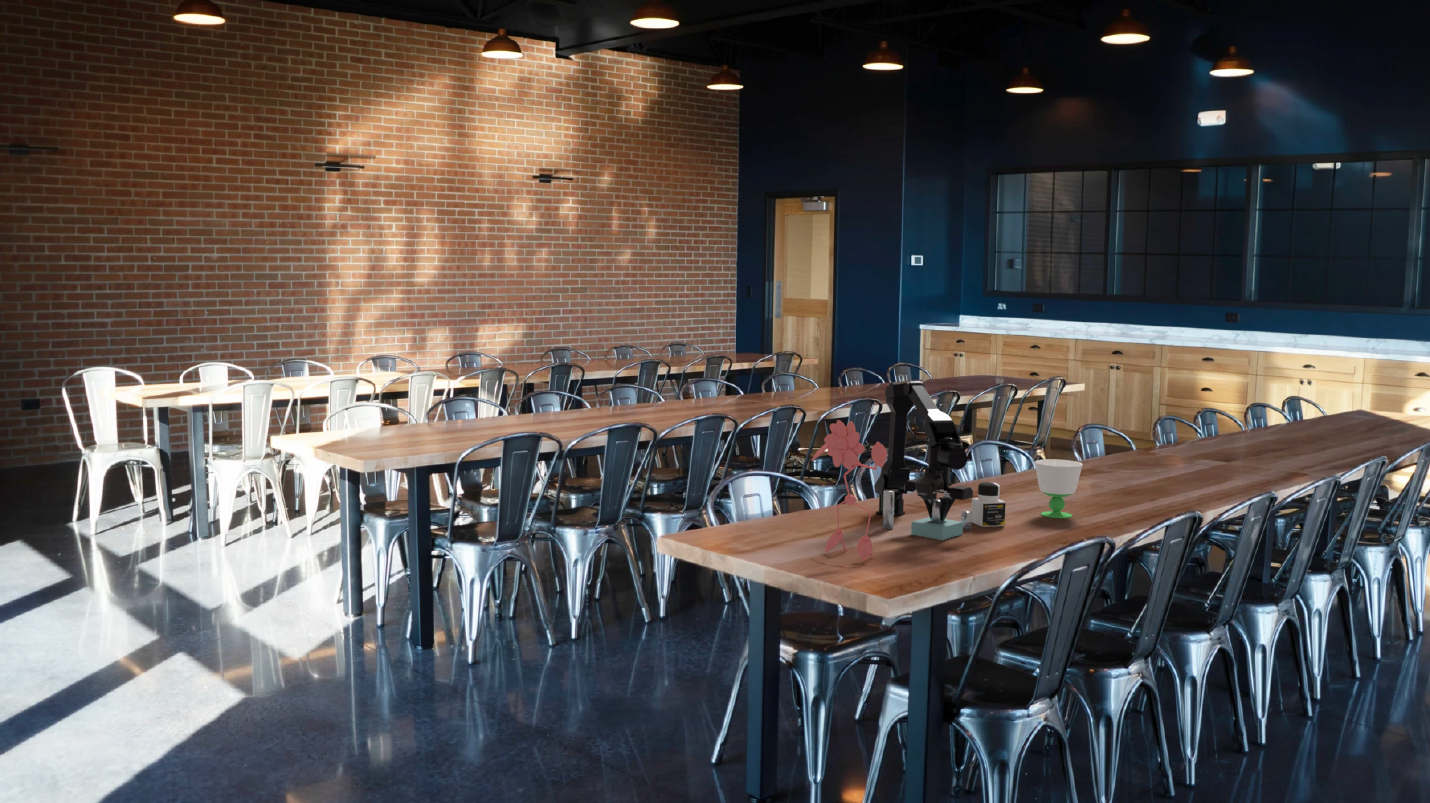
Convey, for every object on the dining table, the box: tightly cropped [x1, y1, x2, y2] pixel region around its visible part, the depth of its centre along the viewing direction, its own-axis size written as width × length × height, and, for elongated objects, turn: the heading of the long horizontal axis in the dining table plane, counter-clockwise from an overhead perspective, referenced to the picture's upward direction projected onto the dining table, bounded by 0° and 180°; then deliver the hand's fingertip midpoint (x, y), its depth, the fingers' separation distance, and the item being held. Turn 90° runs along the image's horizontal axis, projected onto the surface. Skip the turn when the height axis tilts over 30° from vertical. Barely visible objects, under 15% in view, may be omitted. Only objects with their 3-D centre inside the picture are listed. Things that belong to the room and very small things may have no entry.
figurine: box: [810, 419, 888, 569], centre depth 287 cm, size 15×26×35 cm, turn 40°
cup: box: [1034, 458, 1083, 519], centre depth 344 cm, size 14×14×16 cm
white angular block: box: [970, 481, 1007, 528], centre depth 331 cm, size 7×7×12 cm
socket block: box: [910, 516, 964, 541], centre depth 317 cm, size 10×10×4 cm
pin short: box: [960, 510, 973, 531], centre depth 324 cm, size 3×3×5 cm
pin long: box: [882, 490, 895, 530], centre depth 324 cm, size 3×3×10 cm
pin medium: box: [932, 498, 943, 524], centre depth 317 cm, size 3×3×8 cm
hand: (937, 520), depth 317 cm, fingers closed on pin medium, 3 cm apart
